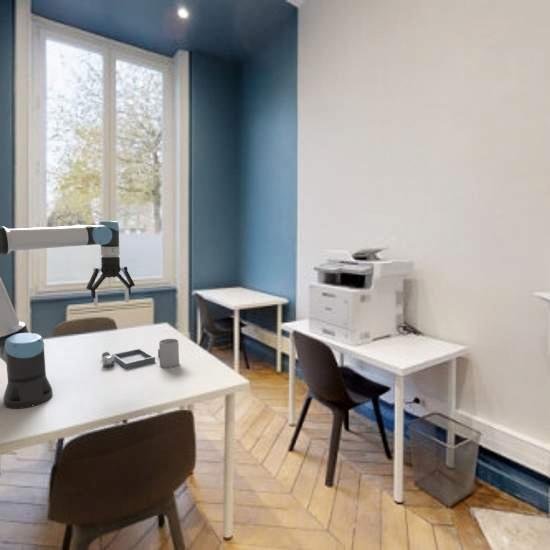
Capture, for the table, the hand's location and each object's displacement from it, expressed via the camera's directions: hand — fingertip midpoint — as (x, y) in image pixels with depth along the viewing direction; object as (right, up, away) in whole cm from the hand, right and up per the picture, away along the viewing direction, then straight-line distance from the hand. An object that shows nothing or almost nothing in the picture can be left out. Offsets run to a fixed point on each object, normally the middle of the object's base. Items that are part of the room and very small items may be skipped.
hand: (111, 303), depth 175 cm
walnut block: (+20, -27, +14) cm, 36 cm away
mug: (+24, -28, +6) cm, 37 cm away
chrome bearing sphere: (-2, -28, +2) cm, 28 cm away
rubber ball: (-7, -25, +10) cm, 28 cm away
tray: (+7, -27, +9) cm, 29 cm away
